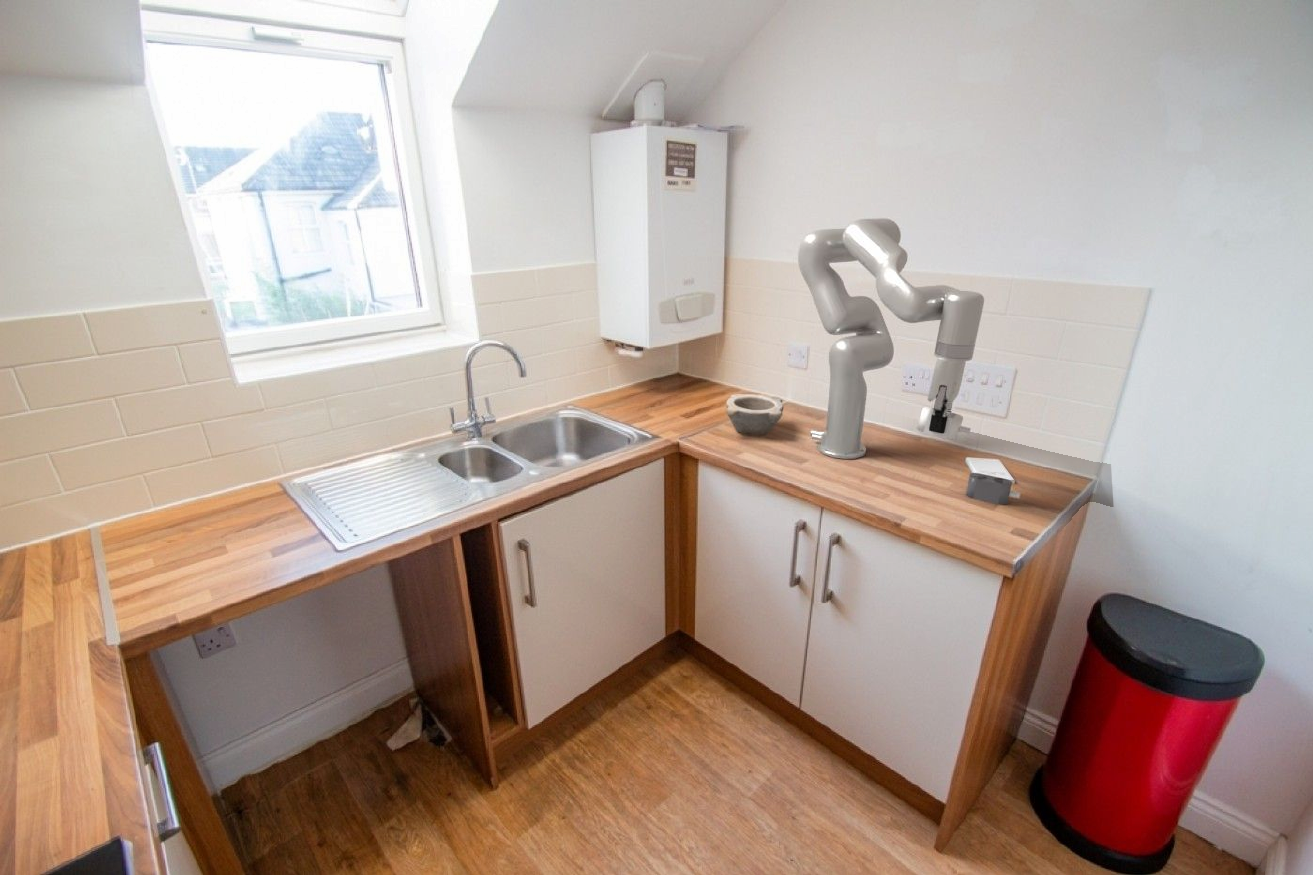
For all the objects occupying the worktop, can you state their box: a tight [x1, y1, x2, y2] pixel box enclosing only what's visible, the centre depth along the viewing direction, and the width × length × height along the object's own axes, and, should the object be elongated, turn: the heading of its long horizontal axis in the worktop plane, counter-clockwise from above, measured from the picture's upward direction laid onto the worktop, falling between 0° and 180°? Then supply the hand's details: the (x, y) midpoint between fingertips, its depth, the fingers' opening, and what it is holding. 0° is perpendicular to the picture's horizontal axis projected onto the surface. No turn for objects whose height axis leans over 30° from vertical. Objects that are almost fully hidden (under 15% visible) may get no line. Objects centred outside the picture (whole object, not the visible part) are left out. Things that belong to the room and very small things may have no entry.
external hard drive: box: [964, 456, 1016, 485], centre depth 151 cm, size 2×8×12 cm
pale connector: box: [916, 406, 972, 441], centre depth 135 cm, size 11×4×5 cm, turn 55°
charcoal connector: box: [965, 472, 1021, 506], centre depth 137 cm, size 11×4×5 cm, turn 56°
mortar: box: [725, 393, 785, 437], centre depth 179 cm, size 17×17×9 cm
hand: (938, 428), depth 136 cm, fingers closed on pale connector, 3 cm apart
